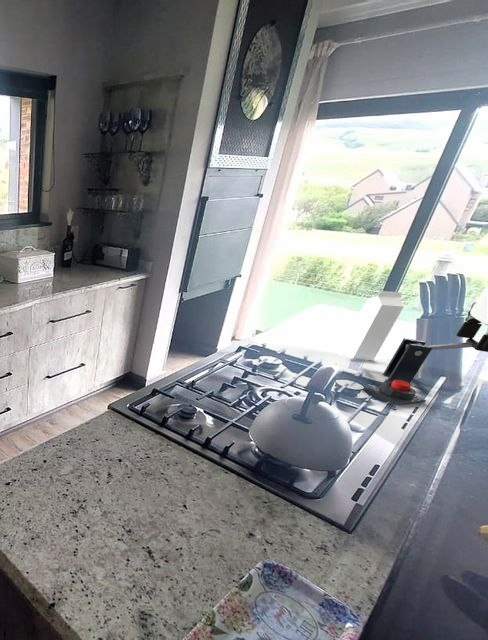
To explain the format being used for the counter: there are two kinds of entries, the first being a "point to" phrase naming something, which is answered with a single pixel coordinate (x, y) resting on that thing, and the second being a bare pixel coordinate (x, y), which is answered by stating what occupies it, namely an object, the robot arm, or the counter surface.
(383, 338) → the milk
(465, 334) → the robot arm
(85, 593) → the counter surface
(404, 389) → the button
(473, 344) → the lever
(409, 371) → the bracket
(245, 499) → the counter surface
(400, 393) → the button box
